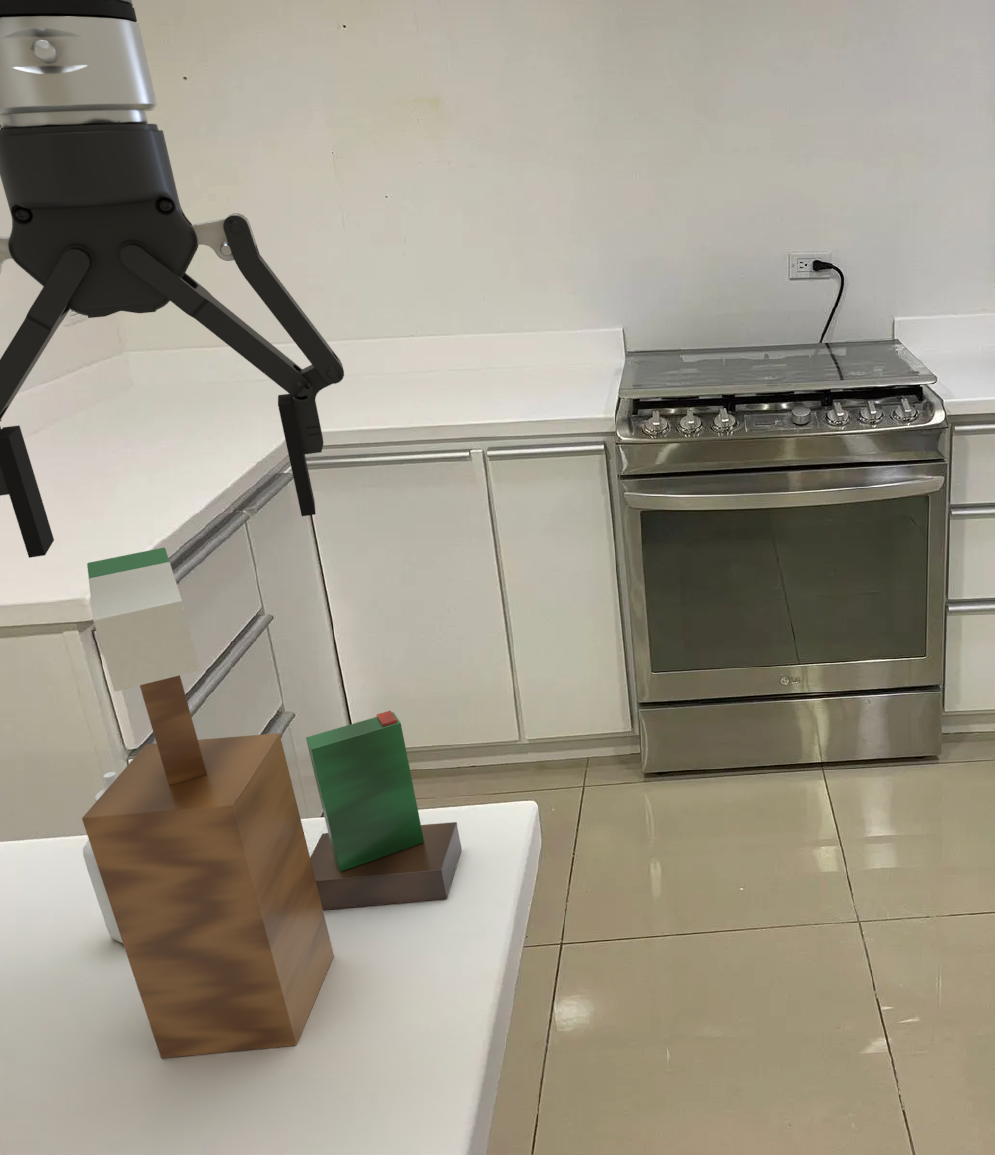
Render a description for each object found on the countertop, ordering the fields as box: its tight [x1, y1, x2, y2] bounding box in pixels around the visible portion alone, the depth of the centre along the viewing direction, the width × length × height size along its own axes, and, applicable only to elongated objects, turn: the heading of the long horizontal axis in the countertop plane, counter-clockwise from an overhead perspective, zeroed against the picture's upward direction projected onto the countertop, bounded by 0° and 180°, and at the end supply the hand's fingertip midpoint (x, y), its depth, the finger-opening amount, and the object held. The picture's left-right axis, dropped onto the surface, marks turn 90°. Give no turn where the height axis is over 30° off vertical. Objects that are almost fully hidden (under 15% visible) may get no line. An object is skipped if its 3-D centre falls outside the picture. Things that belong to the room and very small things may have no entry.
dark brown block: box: [310, 821, 462, 911], centre depth 82 cm, size 10×6×2 cm, turn 94°
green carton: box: [305, 710, 424, 872], centre depth 80 cm, size 6×2×10 cm, turn 122°
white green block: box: [86, 547, 201, 692], centre depth 61 cm, size 10×4×4 cm, turn 31°
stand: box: [81, 675, 335, 1059], centre depth 67 cm, size 8×8×25 cm
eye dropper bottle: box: [82, 771, 123, 944], centre depth 77 cm, size 4×6×12 cm
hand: (180, 529), depth 63 cm, fingers open, 13 cm apart
